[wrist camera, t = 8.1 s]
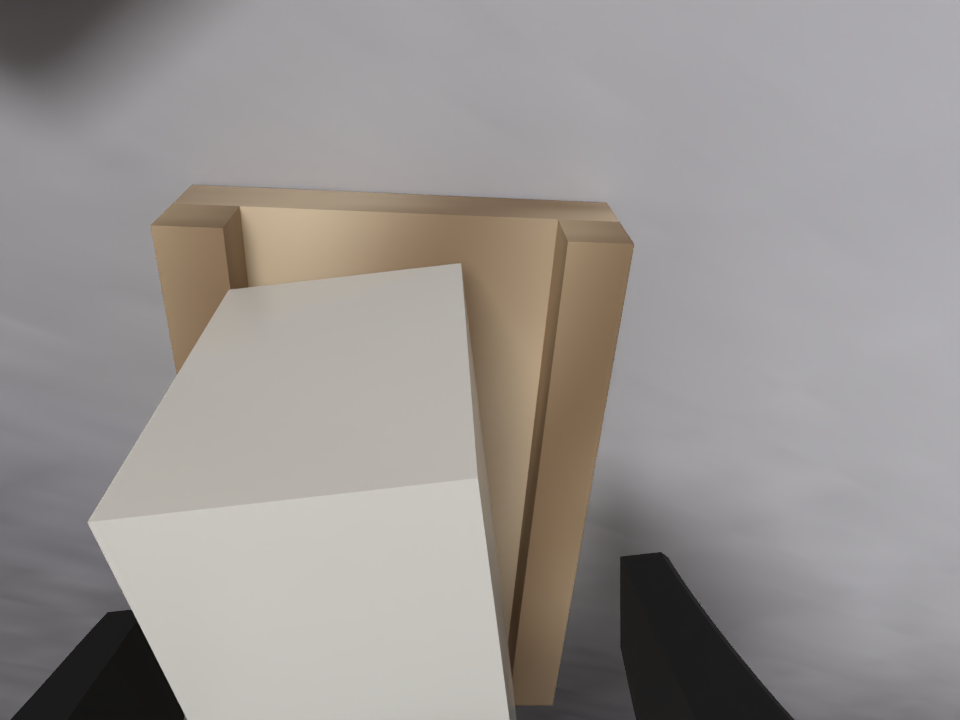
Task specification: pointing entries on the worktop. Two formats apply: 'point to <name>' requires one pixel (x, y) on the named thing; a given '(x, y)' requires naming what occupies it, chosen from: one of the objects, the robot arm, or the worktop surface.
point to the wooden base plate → (494, 340)
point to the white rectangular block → (319, 510)
